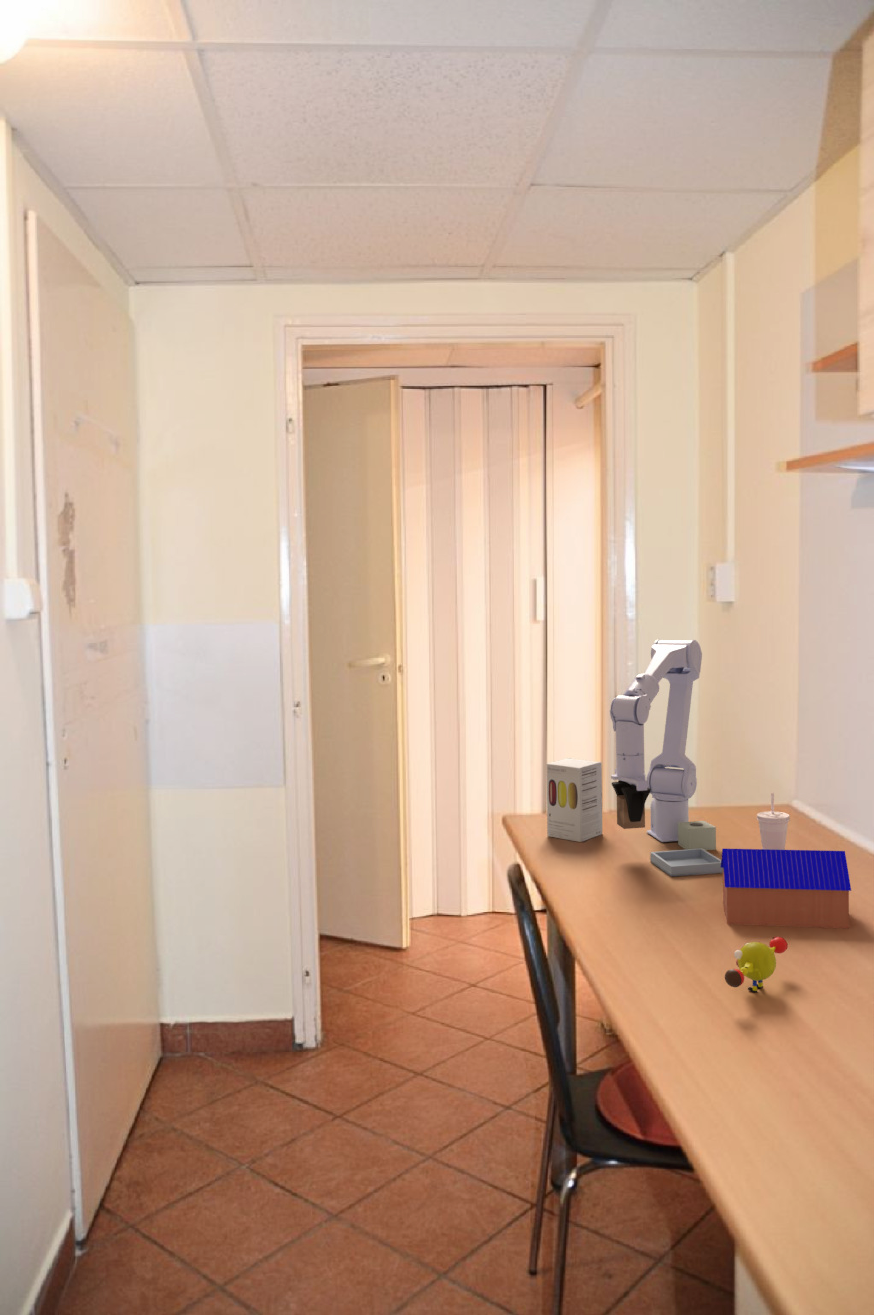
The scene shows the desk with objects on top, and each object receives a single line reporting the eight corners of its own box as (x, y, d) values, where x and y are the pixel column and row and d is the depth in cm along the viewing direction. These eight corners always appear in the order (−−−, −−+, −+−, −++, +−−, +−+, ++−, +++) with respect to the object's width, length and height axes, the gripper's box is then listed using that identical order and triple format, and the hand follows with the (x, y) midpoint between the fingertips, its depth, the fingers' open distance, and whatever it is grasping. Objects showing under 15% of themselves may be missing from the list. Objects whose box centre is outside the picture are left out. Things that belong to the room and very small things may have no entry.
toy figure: (762, 966, 160) (762, 922, 159) (798, 974, 156) (798, 929, 156) (709, 1006, 146) (709, 957, 145) (748, 1015, 142) (748, 966, 142)
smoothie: (786, 857, 218) (785, 790, 217) (793, 866, 212) (793, 796, 211) (754, 857, 219) (753, 790, 218) (760, 866, 212) (760, 797, 211)
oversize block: (678, 845, 231) (677, 822, 231) (704, 843, 232) (703, 820, 232) (689, 852, 225) (689, 828, 225) (716, 850, 226) (715, 826, 226)
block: (617, 824, 222) (616, 795, 222) (637, 822, 223) (637, 794, 223) (624, 829, 218) (623, 799, 218) (645, 827, 219) (644, 798, 218)
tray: (650, 861, 218) (650, 852, 218) (702, 857, 220) (702, 848, 220) (671, 876, 207) (671, 866, 207) (725, 872, 209) (725, 862, 209)
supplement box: (546, 836, 241) (544, 763, 240) (568, 828, 248) (567, 757, 247) (581, 842, 235) (580, 767, 234) (604, 834, 242) (602, 761, 241)
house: (720, 904, 190) (720, 839, 190) (838, 907, 186) (838, 842, 186) (725, 926, 179) (724, 857, 178) (851, 930, 175) (851, 860, 174)
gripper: (600, 749, 226) (601, 812, 227) (622, 760, 212) (624, 827, 213) (632, 747, 227) (633, 810, 228) (656, 758, 213) (657, 825, 214)
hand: (631, 818), depth 220 cm, fingers closed on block, 4 cm apart
